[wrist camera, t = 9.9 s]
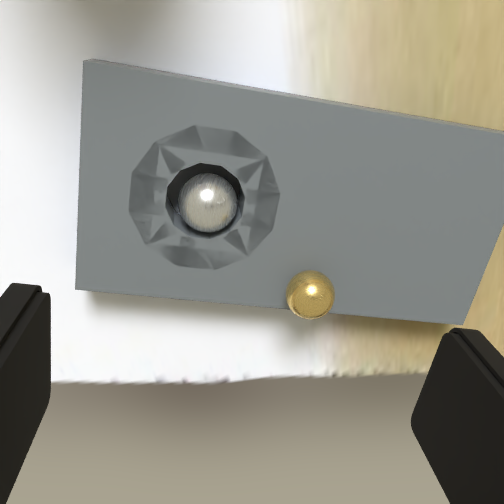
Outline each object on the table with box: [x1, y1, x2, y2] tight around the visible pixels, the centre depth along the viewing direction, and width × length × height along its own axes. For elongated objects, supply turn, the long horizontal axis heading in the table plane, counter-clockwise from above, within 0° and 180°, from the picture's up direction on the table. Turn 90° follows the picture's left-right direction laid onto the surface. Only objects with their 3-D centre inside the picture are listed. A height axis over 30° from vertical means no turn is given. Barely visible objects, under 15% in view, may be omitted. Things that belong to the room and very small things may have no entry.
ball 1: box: [178, 173, 237, 232], centre depth 28 cm, size 4×4×4 cm
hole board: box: [75, 59, 504, 325], centre depth 30 cm, size 26×13×2 cm, turn 80°
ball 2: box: [286, 270, 335, 319], centre depth 29 cm, size 3×3×3 cm
